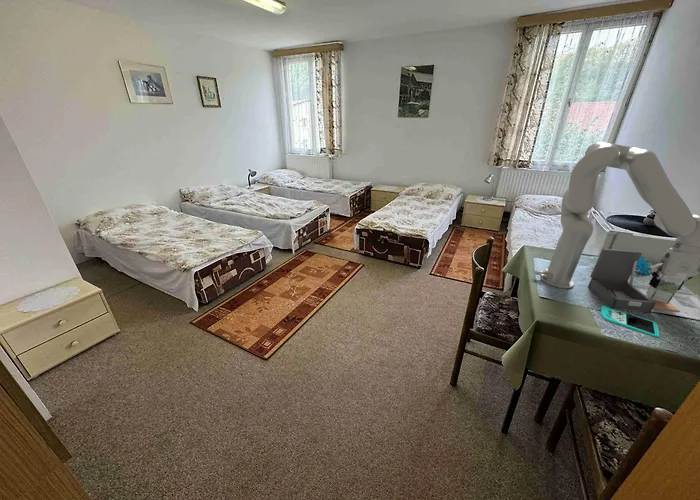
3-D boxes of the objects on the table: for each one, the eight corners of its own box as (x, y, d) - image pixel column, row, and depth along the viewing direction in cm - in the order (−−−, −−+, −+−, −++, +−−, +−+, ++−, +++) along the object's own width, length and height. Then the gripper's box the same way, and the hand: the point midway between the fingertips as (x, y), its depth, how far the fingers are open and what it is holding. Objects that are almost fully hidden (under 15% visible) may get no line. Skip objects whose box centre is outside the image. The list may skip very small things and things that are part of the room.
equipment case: (611, 309, 113) (632, 268, 105) (586, 285, 129) (602, 248, 121) (651, 313, 111) (676, 272, 103) (621, 288, 127) (640, 251, 118)
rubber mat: (650, 308, 114) (651, 307, 113) (632, 294, 122) (633, 293, 122) (679, 311, 112) (680, 310, 112) (659, 297, 121) (660, 296, 121)
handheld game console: (600, 307, 115) (602, 304, 114) (655, 324, 106) (657, 321, 105) (599, 319, 108) (601, 316, 107) (658, 339, 99) (660, 336, 98)
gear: (639, 273, 136) (632, 253, 139) (626, 276, 141) (619, 257, 145) (657, 274, 138) (649, 255, 142) (642, 277, 144) (635, 258, 147)
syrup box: (663, 297, 117) (682, 267, 111) (668, 305, 113) (688, 273, 107) (645, 293, 120) (662, 263, 114) (649, 300, 116) (667, 269, 109)
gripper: (668, 249, 104) (645, 289, 112) (724, 254, 102) (697, 295, 109) (653, 241, 111) (632, 280, 119) (705, 245, 108) (680, 284, 116)
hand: (663, 287), depth 114 cm, fingers closed on syrup box, 7 cm apart
